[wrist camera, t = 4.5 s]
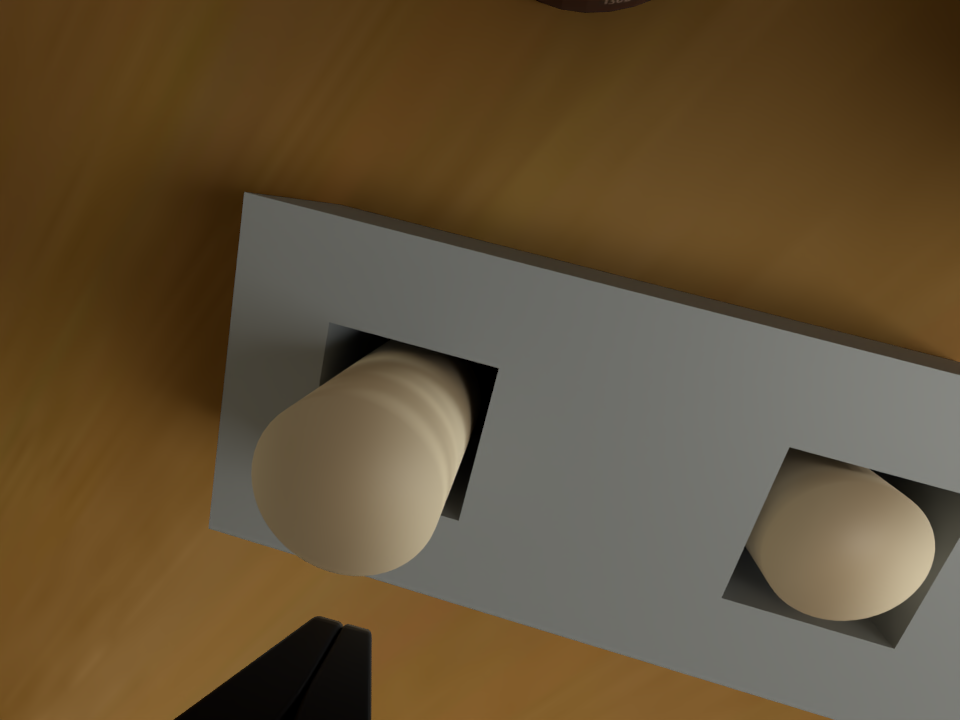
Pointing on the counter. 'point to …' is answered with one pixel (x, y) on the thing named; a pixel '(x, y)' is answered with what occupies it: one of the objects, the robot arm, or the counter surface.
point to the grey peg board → (612, 450)
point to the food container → (592, 4)
